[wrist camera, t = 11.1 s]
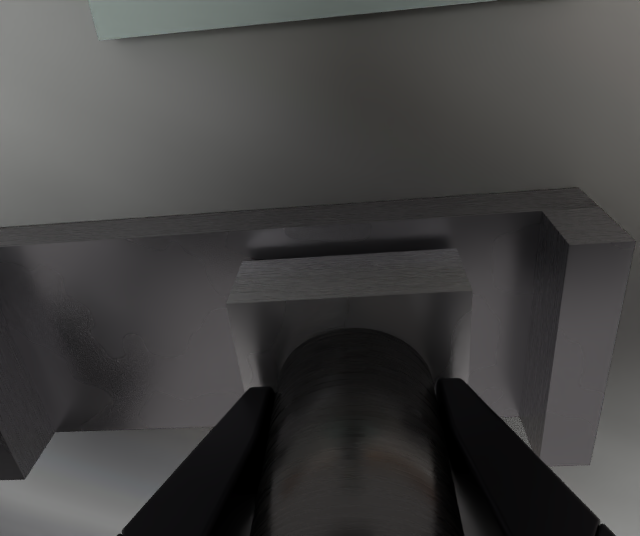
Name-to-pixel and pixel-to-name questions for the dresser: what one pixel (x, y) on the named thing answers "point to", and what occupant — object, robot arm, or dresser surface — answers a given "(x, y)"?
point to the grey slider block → (354, 389)
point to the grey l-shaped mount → (229, 13)
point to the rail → (284, 243)
